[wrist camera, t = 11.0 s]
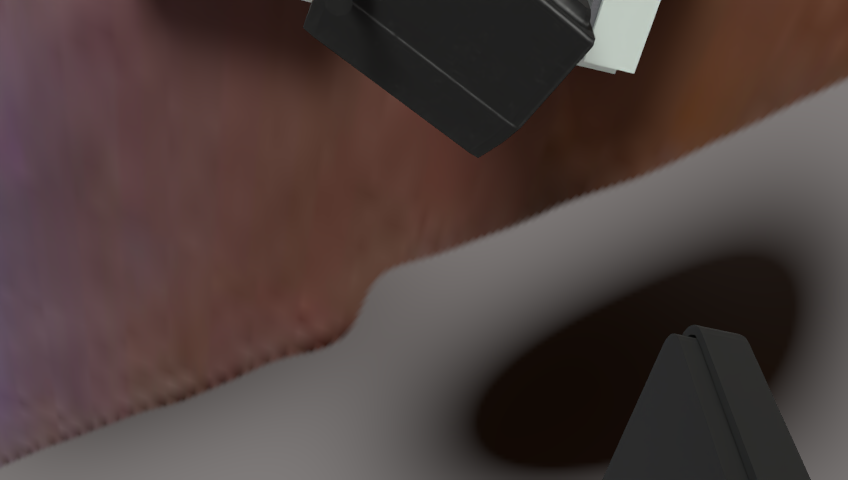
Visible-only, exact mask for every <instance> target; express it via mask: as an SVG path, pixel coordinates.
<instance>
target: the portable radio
mask: <svg viewBox="0 0 848 480" xmlns="http://www.w3.org/2000/svg"><path fill="white" fill-rule="evenodd" d="M590 19H591V9H590V6H589V3H588V0H312V2H311V5H310V8H309V11H308V14H307V17H306V20H305V23H304V26H303V28H304V29H305V30H306V31H307V32H309V33H310V34H311V35H312V36H313V37H314V38H316V39H317V40H318V41H320V42H321V43H322V44H324V45H325V46H327V47H328V48H329V49H331V50H332V51H333V52H335V53H336V54H337V55H339V56H340V57H341V58H343V59H344V60H345V61H347V62H348V63H349V64H351V65H352V66H353V67H355V68H356V69H357V70H359V71H360V72H361V73H363V74H364V75H366V76H367V77H368V78H370V79H371V80H372V81H374V82H375V83H376V84H378V85H379V86H380V87H382V88H383V89H384V90H386V91H387V92H388V93H390V94H391V95H392V96H394V97H395V98H396V99H398V100H399V101H401V102H402V103H403V104H405V105H406V106H407V107H409V108H410V109H411V110H413V111H414V112H415V113H417V114H418V115H419V116H421V117H422V118H423V119H425V120H426V121H427V122H429V123H430V124H431V125H433V126H434V127H435V128H437V129H438V130H440V131H441V132H442V133H444V134H445V135H446V136H448V137H449V138H450V139H452V140H453V141H454V142H456V143H457V144H458V145H460V146H461V147H462V148H464V149H465V150H466V151H468V152H469V153H471V154H472V155H474V156H476V157H477V158H479V157H481V156H482V155H484V154H485V153H487V152H488V151H490V150H492V149H493V148H495V147H496V146H498V145H499V144H501V143H502V142H504V141H505V140H506V139H507V138H509V137H510V136H511V135H512V134H514V133H515V132H516V131H517V130H519V129H520V128H521V127H522V126H523V125H524V123H525V122H526V121H527V120H528V119H529V118H530V117H531V116H532V114H533V113H534V112H535V111H536V110H537V109H538V108H539V107H540V105H541V104H542V103H543V102H544V101H545V100H546V99H547V98H548V96H549V95H550V94H551V93H552V92H553V91H554V90H555V89H556V88H557V86H558V85H559V84H560V83H561V82H562V81H563V80H564V79H565V77H566V76H567V75H568V74H569V73H570V72H571V71H572V70H573V68H574V67H575V66H576V65H577V64H578V63H579V62H580V61H581V59H582V58H583V57H584V56H585V55H586V54H587V53H588V52H589V50H590V49H591V48H592V47H593V45H594V42H595V35H594V32H593V29H592V26H591V23H590Z"/></svg>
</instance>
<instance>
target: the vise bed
mask: <svg viewBox="0 0 848 480" xmlns="http://www.w3.org/2000/svg"><path fill="white" fill-rule="evenodd" d="M303 1H307V2H312V0H303ZM660 1H661V0H588V3H589V6H590V9H591V19H590V23H591V26H592V29H593V32H594V35H595V42H594V45H593V47H592V48H591V49H590V50H589V52H588V53H587V54H586V55H585V56H584V57H583V58H582V59H581V61H580V62H579V63H578V64H577V65H578V66H582V67H587V68H591V69H595V70H599V71H604V72H608V73H612V74H615V73H616V70H621V71H625V72H629V73H633V74H634V73H635V70H636V67H637V65H638V62H639V59H640V56H641V54H642V51H643V48H644V45H645V42H646V40H647V37H648V34H649V31H650V29H651V26H652V23H653V20H654V18H655V15H656V12H657V9H658V7H659V4H660Z"/></svg>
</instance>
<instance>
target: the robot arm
mask: <svg viewBox="0 0 848 480" xmlns="http://www.w3.org/2000/svg"><path fill="white" fill-rule="evenodd" d="M603 480H811V479H810V477H809V475H808V473H807V471H806V468H805V466H804V464H803V461H802V459H801V457H800V455H799V453H798V450H797V448H796V446H795V444H794V442H793V439H792V437H791V435H790V433H789V431H788V428H787V426H786V424H785V422H784V420H783V417H782V415H781V413H780V411H779V409H778V407H777V404H776V402H775V400H774V398H773V395H772V393H771V391H770V389H769V387H768V384H767V382H766V380H765V378H764V376H763V373H762V371H761V369H760V367H759V365H758V362H757V360H756V358H755V356H754V353H753V351H752V349H751V347H750V345H749V342H748V341H747V340H746V338H745V337H744V336H742V335H740V334H735V333H730V332H726V331H721V330H716V329H712V328H707V327H702V326H697V325H692V326H689V327H688V328H687V329H686V330H685V331H684V333H683V334H682V335H678V334H671V335H669V337H668V338H667V339H666V341H665V342H664V344H663V346H662V349H661V351H660V354H659V355H658V358H657V360H656V362H655V364H654V366H653V369H652V371H651V373H650V376H649V378H648V380H647V382H646V384H645V386H644V389H643V391H642V393H641V395H640V398H639V400H638V402H637V404H636V407H635V409H634V411H633V413H632V415H631V418H630V420H629V422H628V424H627V426H626V429H625V431H624V433H623V435H622V438H621V440H620V442H619V444H618V447H617V449H616V451H615V453H614V455H613V457H612V460H611V462H610V464H609V466H608V469H607V471H606V473H605V475H604V478H603Z"/></svg>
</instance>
